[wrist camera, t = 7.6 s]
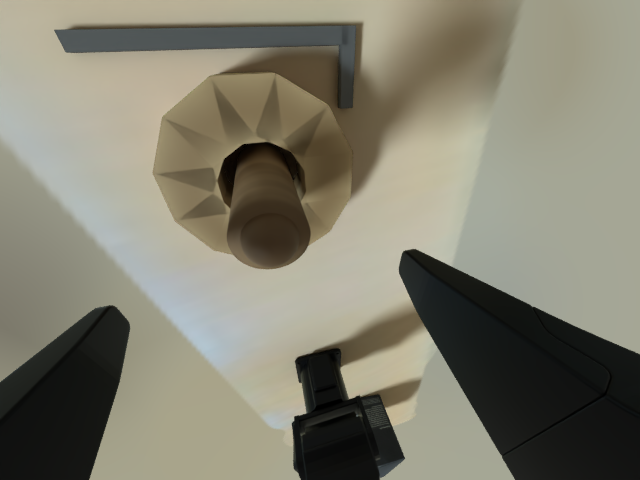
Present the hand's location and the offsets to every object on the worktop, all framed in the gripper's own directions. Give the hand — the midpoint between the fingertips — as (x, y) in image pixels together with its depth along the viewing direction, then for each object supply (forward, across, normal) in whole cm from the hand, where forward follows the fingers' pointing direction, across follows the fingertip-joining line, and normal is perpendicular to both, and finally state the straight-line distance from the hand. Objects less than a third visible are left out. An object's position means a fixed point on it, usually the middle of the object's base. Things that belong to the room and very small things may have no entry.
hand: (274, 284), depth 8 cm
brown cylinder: (+12, 0, 0) cm, 12 cm away
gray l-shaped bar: (+12, +1, -5) cm, 13 cm away
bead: (+12, 0, 0) cm, 12 cm away
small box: (+12, -11, +53) cm, 56 cm away
